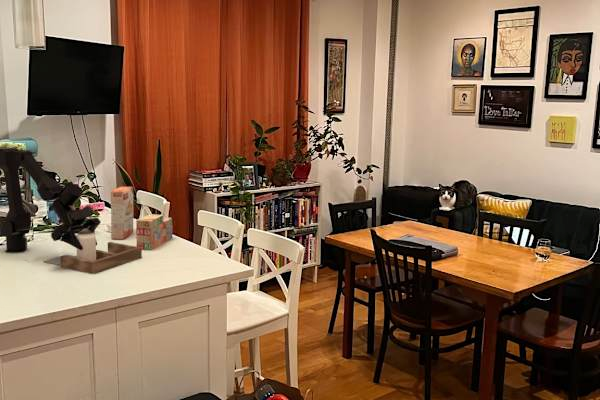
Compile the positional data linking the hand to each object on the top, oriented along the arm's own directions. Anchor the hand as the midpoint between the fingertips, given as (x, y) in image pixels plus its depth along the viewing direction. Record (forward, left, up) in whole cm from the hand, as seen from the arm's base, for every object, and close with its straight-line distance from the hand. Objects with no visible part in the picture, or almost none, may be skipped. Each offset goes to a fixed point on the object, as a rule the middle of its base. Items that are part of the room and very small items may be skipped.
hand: (89, 247), depth 209 cm
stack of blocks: (+22, +30, -7) cm, 38 cm away
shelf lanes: (+4, +4, -7) cm, 9 cm away
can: (-1, +1, -7) cm, 7 cm away
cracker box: (+8, +45, -7) cm, 46 cm away
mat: (-10, +8, -7) cm, 14 cm away
